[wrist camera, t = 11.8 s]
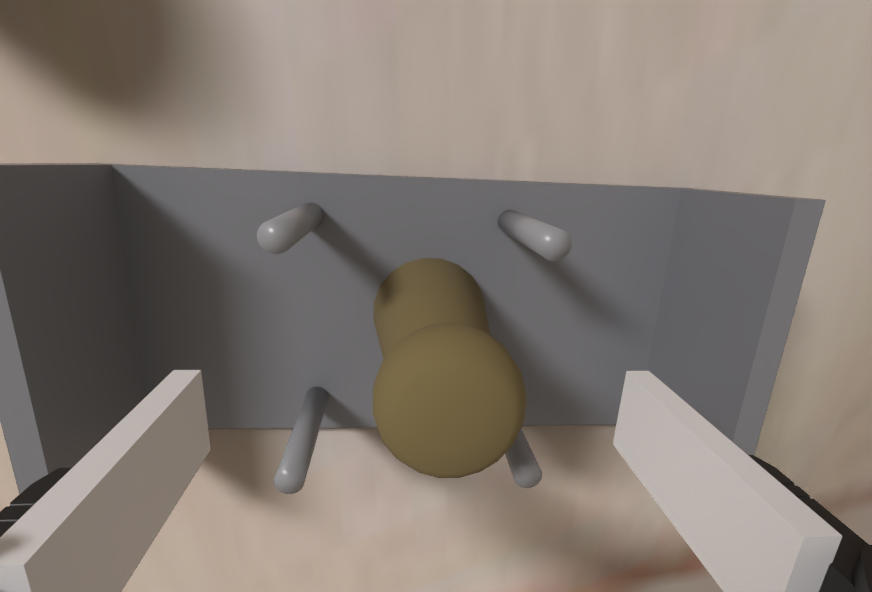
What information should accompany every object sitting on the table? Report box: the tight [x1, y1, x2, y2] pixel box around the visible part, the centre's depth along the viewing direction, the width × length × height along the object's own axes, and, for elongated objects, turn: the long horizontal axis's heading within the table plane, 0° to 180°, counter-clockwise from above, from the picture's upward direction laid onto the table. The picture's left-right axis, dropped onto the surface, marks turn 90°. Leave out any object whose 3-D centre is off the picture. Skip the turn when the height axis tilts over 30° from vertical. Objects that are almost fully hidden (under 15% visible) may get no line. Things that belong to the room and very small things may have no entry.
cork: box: [372, 258, 527, 478], centre depth 19 cm, size 6×6×11 cm
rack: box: [0, 163, 826, 494], centre depth 21 cm, size 30×14×8 cm, turn 88°
